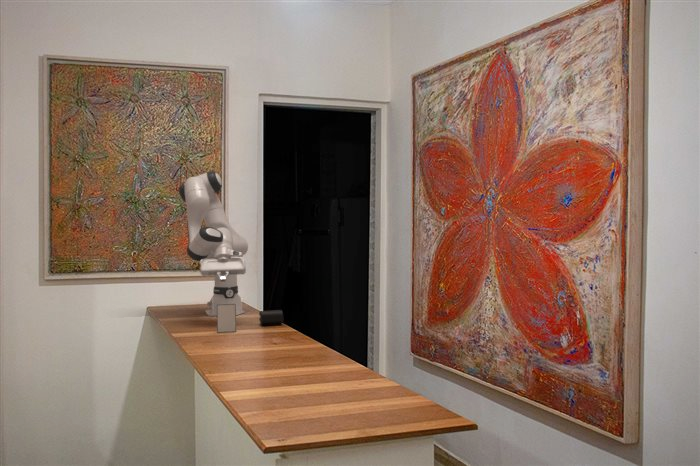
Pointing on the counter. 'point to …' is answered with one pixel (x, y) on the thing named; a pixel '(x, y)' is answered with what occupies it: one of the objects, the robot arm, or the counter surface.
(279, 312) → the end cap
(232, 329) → the slate tile
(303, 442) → the counter surface
